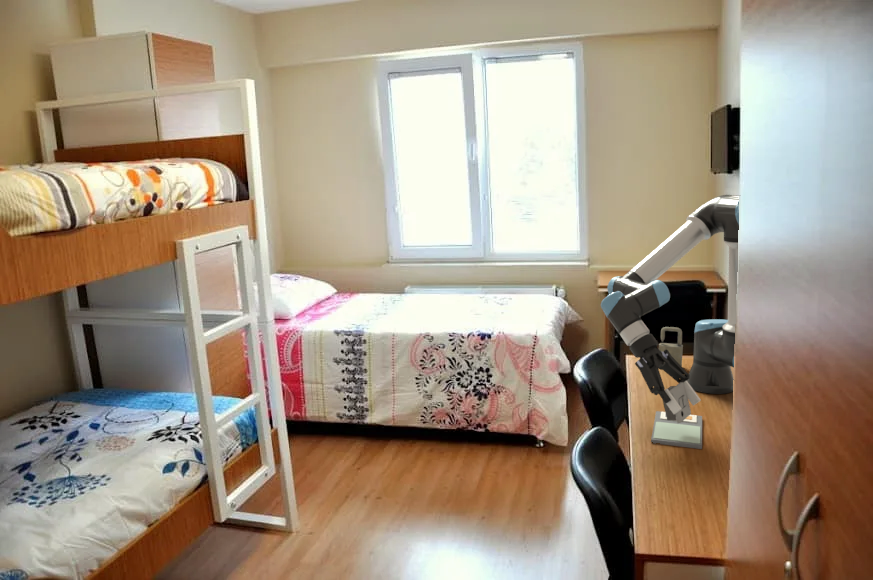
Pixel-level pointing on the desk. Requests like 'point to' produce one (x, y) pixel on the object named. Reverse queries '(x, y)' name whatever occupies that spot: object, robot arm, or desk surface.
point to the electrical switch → (681, 399)
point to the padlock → (672, 348)
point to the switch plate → (677, 431)
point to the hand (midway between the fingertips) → (687, 407)
